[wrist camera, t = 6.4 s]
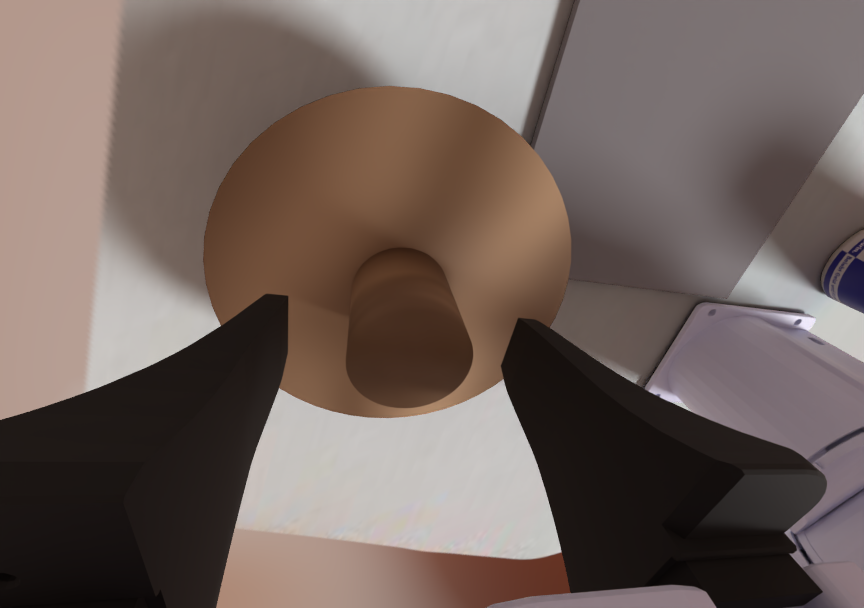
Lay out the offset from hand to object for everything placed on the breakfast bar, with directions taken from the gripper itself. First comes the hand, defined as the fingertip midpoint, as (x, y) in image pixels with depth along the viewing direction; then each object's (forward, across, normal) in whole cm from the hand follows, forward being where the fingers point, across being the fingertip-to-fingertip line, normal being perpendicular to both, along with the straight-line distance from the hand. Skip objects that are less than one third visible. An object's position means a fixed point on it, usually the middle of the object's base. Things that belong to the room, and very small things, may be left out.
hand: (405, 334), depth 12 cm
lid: (+3, 0, 0) cm, 3 cm away
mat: (+8, -13, -7) cm, 17 cm away
